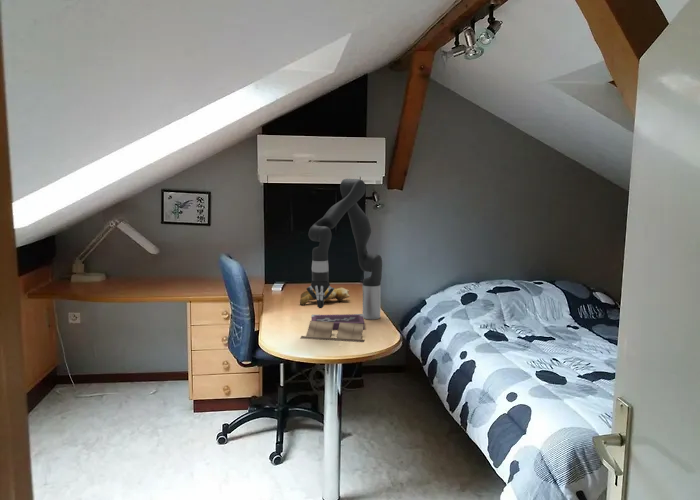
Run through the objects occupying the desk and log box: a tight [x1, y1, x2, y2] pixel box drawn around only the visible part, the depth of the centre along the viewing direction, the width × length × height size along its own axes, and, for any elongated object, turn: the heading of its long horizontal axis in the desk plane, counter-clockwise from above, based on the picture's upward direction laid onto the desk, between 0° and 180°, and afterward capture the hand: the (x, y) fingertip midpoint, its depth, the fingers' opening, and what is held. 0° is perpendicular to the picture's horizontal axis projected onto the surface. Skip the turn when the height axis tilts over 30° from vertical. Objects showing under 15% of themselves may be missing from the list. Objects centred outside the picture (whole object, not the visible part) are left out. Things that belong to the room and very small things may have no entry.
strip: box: [299, 335, 365, 343], centre depth 241 cm, size 3×29×2 cm, turn 78°
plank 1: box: [305, 320, 334, 338], centre depth 247 cm, size 9×11×1 cm
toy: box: [299, 287, 351, 306], centre depth 318 cm, size 14×9×30 cm
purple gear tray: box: [310, 313, 366, 331], centre depth 264 cm, size 25×16×5 cm, turn 93°
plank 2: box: [335, 323, 364, 339], centre depth 244 cm, size 9×11×1 cm
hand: (320, 307), depth 247 cm, fingers closed
